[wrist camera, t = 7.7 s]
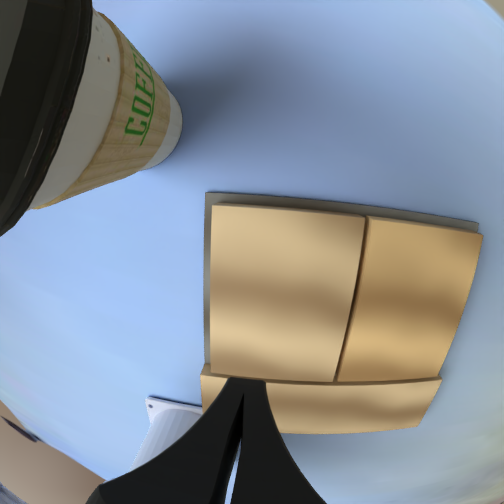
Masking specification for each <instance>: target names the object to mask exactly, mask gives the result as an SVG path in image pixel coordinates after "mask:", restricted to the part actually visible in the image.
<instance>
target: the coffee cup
mask: <svg viewBox="0 0 504 504" xmlns="http://www.w3.org/2000/svg"><path fill="white" fill-rule="evenodd" d="M182 122H183V120H182V112H181V109H180V106H179V103H178V102H177V100H176V98H175V97H174V96H173V95H172V94H171V93H170V91H169V90H168V89H167V88H166V86H165V84H164V82H163V81H162V79H161V77H160V76H159V75H158V74H157V73H156V71H155V70H154V69H153V68H152V67H151V66H150V64H149V63H148V62H147V61H146V60H145V58H144V57H143V56H142V55H141V54H140V53H139V51H138V50H137V49H136V48H135V47H134V46H133V45H132V43H131V42H130V41H129V40H128V39H127V38H126V37H125V35H124V34H123V33H122V32H121V31H120V30H119V29H118V27H117V26H116V25H115V24H114V23H113V22H112V21H111V20H110V19H109V18H107V17H106V16H105V15H104V14H102V13H100V12H97V11H96V10H95V9H94V8H93V6H92V0H0V237H1V236H2V235H3V234H5V233H6V232H7V231H8V230H10V229H11V228H12V227H14V226H15V224H16V223H17V222H18V221H19V219H20V218H21V217H22V216H23V214H24V213H25V212H26V211H28V210H30V209H41V208H44V207H47V206H51V205H53V204H56V203H58V202H61V201H63V200H66V199H68V198H71V197H73V196H76V195H78V194H81V193H84V192H86V191H89V190H92V189H94V188H97V187H100V186H103V185H105V184H108V183H111V182H114V181H117V180H120V179H123V178H126V177H128V176H130V175H132V174H134V173H136V172H138V171H142V170H146V169H149V168H152V167H154V166H156V165H158V164H159V163H161V162H162V161H164V160H165V159H166V158H167V157H168V156H169V155H170V154H171V152H172V151H173V149H174V148H175V147H176V144H177V142H178V140H179V138H180V134H181V131H182Z"/></svg>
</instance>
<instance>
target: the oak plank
mask: <svg viewBox="0 0 504 504" xmlns="http://www.w3.org/2000/svg"><path fill="white" fill-rule="evenodd" d="M482 239H483V235H481V234H479V233H477V232H475V231H472V230H466V229H460V228H454V227H447V226H441V225H434V224H428V223H421V222H414V221H406V220H399V219H391V218H383V217H375V216H366V220H365V228H364V235H363V241H362V248H361V254H360V260H359V266H358V272H357V277H356V282H355V288H354V293H353V298H352V303H351V308H350V313H349V318H348V322H347V327H346V331H345V335H344V340H343V344H342V348H341V352H340V356H339V360H338V364H337V367H336V371H335V372H336V377H337V381H339V382H350V381H387V380H404V379H417V378H428V377H437V375H438V373H439V371H440V369H441V366H442V364H443V362H444V360H445V357H446V355H447V353H448V350H449V348H450V346H451V343H452V341H453V338H454V335H455V333H456V330H457V328H458V325H459V322H460V319H461V316H462V314H463V311H464V308H465V304H466V301H467V298H468V295H469V292H470V288H471V285H472V281H473V278H474V274H475V270H476V266H477V262H478V258H479V253H480V249H481V244H482Z"/></svg>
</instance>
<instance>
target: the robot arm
mask: <svg viewBox="0 0 504 504" xmlns="http://www.w3.org/2000/svg"><path fill="white" fill-rule="evenodd" d="M145 402H146V407H147V411H148V415H149V419H150V423H151V426H150V428H149V430H148V432H147V434H146V437H145V439H144V441H143V443H142V445H141V447H140V449H139V451H138V453H137V455H136V457H135V460H134V462H133V464H132V466H131V468H130V470H129V472H128V473H126V474H124V475H122V476H120V477H117V478H113V479H111V480H107V481H105V482H104V483H103V484H100V485H99V486H98V487H97V488H96V489H95V490H94V492H93V493H92V494H91V496H90V497H89V498H88V501H87V502H86V504H225V498H226V492H227V487H228V483H229V479H230V476H231V472H232V469H233V465H234V462H235V458H236V454H237V451H238V447H239V443H240V440H241V451H240V457H239V462H238V468H237V473H236V478H235V483H234V488H233V493H232V498H231V503H230V504H327V503H326V502H325V501H324V500H323V499H322V498H321V497H320V496H319V494H318V493H317V492H316V491H315V490H314V488H313V487H312V486H311V484H310V483H309V482H308V480H307V479H306V478H305V477H304V475H303V474H302V472H301V471H300V469H299V468H298V466H297V465H296V463H295V461H294V460H293V458H292V456H291V455H290V453H289V451H288V449H287V447H286V445H285V443H284V441H283V439H282V437H281V435H280V432H279V430H278V427H277V425H276V422H275V419H274V417H273V414H272V411H271V408H270V404H269V400H268V395H267V389H266V382H265V381H264V380H255V379H245V378H236V377H230V378H228V379H227V381H226V383H225V385H224V386H223V388H222V390H221V391H220V393H219V394H218V396H217V397H216V398H215V400H214V401H213V402H212V404H211V405H210V406H209V408H208V409H207V410H206V411H205V413H204V414H203V411H202V407H197V406H191V405H186V404H180V403H175V402H171V401H166V400H161V399H157V398H153V397H147V398H146V400H145ZM0 504H27V503H26V502H24V501H23V500H21V499H20V498H19V497H17V496H16V495H15V494H13V493H12V492H11V491H9V490H8V489H7V488H6V487H4V486H3V485H2V483H1V482H0Z"/></svg>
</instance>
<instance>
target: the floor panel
mask: <svg viewBox="0 0 504 504" xmlns="http://www.w3.org/2000/svg"><path fill="white" fill-rule="evenodd" d="M366 216H375V217H383V218H391V219H399V220H406V221H414V222H421V223H428V224H434V225H441V226H447V227H454V228H460V229H466V230H472V231H475V232H477V230H478V224H479V223H476V222H470V221H465V220H459V219H454V218H448V217H442V216H436V215H430V214H424V213H417V212H411V211H404V210H397V209H390V208H382V207H375V206H367V205H358V204H350V203H341V202H332V201H322V200H312V199H301V198H289V197H277V196H264V195H249V194H232V193H213V192H206V193H205V219H204V356H205V364H204V367H203V369H202V372H201V374H200V378H201V396H202V411H203V414H204V413H205V411H206V410H207V409H208V408H209V406H210V405H211V404H212V402H213V401H214V400H215V398H216V397H217V396H218V394H219V393H220V391H221V390H222V388H223V386H224V385H225V383H226V381H227V379H228V378H230V377H236V378H245V379H255V380H264V381H265V382H266V389H267V395H268V400H269V404H270V408H271V411H272V414H273V417H274V419H275V422H276V425H277V427H278V430H279V432H280V433H293V434H344V433H363V432H376V431H386V430H395V429H403V428H410V427H417V426H418V425H419V423H420V421H421V420H422V418H423V416H424V414H425V413H426V411H427V409H428V407H429V405H430V403H431V402H432V400H433V398H434V396H435V394H436V392H437V390H438V388H439V386H440V384H441V382H442V378H441V377H440V375H439V374H438V375H437V377H428V378H417V379H404V380H387V381H350V382H339V381H337V377H336V372H335V371H336V367H337V364H338V360H339V356H340V352H341V348H342V344H343V340H344V335H345V331H346V327H347V322H348V318H349V313H350V308H351V303H352V298H353V293H354V288H355V282H356V277H357V272H358V266H359V260H360V254H361V248H362V241H363V235H364V228H365V220H366Z"/></svg>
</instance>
